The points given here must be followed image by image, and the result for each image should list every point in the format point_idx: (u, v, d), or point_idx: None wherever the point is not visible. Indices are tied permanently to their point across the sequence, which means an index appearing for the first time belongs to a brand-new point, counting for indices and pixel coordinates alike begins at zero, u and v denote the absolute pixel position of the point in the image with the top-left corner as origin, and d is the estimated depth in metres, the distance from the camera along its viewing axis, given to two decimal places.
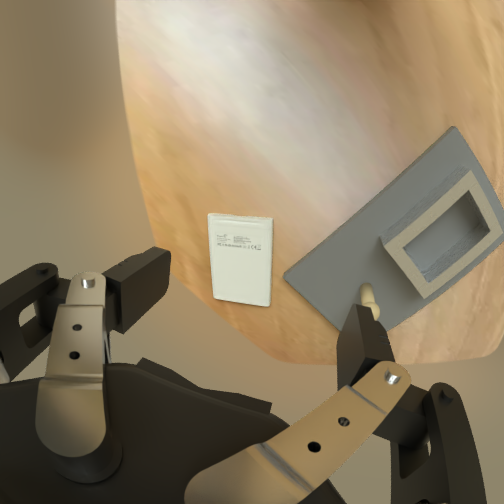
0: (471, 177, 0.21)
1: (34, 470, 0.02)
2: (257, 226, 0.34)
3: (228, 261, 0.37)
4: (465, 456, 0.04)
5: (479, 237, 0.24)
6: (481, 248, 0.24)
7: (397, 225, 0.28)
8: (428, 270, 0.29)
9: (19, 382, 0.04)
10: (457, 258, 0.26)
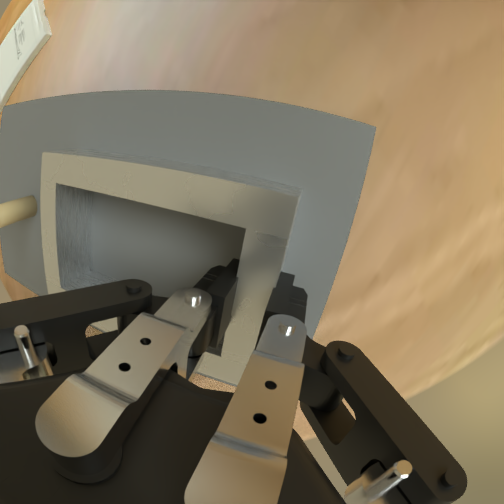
0: (281, 213, 0.09)
1: (34, 470, 0.02)
2: (35, 31, 0.12)
3: (3, 52, 0.13)
4: (394, 408, 0.05)
5: None
6: None
7: (94, 152, 0.12)
8: (92, 277, 0.15)
9: (18, 382, 0.04)
10: None
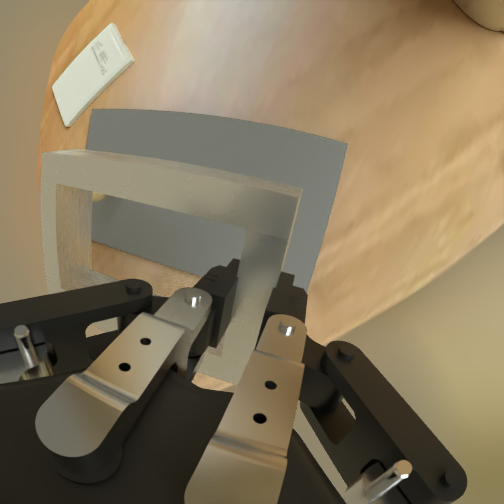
0: (281, 214, 0.09)
1: (34, 470, 0.02)
2: (119, 56, 0.24)
3: (82, 65, 0.25)
4: (394, 408, 0.05)
5: None
6: None
7: (94, 152, 0.12)
8: (93, 277, 0.15)
9: (18, 381, 0.04)
10: None
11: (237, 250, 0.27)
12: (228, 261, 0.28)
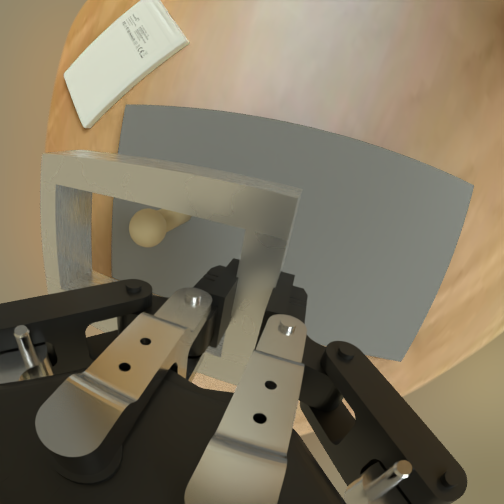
0: (280, 214, 0.09)
1: (34, 470, 0.02)
2: (167, 34, 0.17)
3: (109, 45, 0.18)
4: (394, 408, 0.05)
5: None
6: None
7: (94, 153, 0.12)
8: (92, 278, 0.15)
9: (19, 382, 0.04)
10: None
11: (340, 307, 0.21)
12: (327, 319, 0.21)
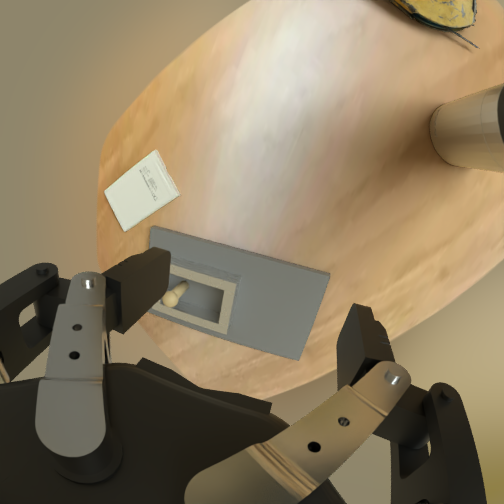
0: (232, 287, 0.39)
1: (34, 470, 0.02)
2: (167, 189, 0.40)
3: (133, 184, 0.41)
4: (465, 456, 0.04)
5: (210, 318, 0.43)
6: (204, 325, 0.43)
7: (173, 258, 0.42)
8: None
9: (19, 382, 0.04)
10: (186, 312, 0.43)
11: (260, 331, 0.44)
12: (254, 336, 0.45)
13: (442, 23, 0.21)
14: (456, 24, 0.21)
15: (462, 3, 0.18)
